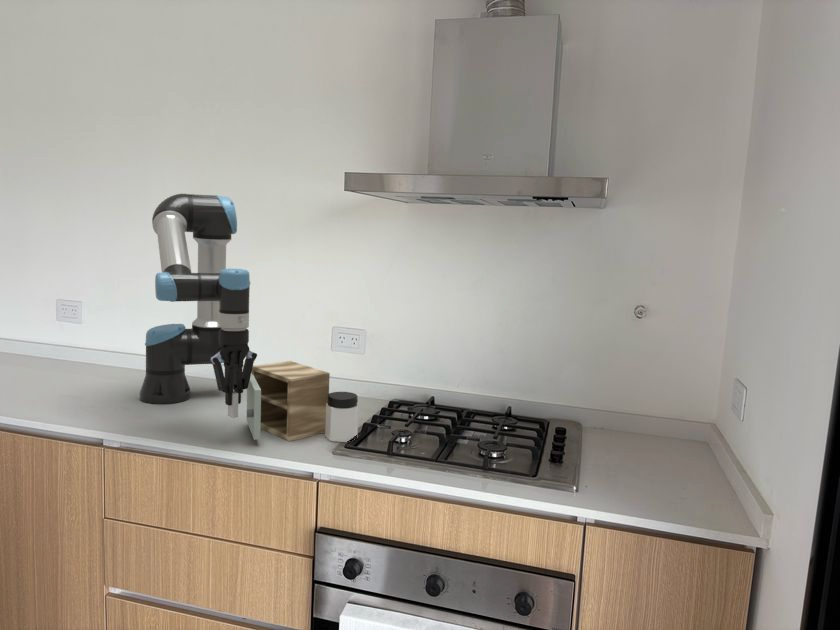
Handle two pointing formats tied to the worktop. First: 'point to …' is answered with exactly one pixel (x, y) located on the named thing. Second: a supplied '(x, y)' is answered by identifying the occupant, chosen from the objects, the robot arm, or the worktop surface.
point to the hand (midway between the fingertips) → (232, 416)
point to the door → (254, 407)
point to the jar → (341, 416)
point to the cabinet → (292, 399)
